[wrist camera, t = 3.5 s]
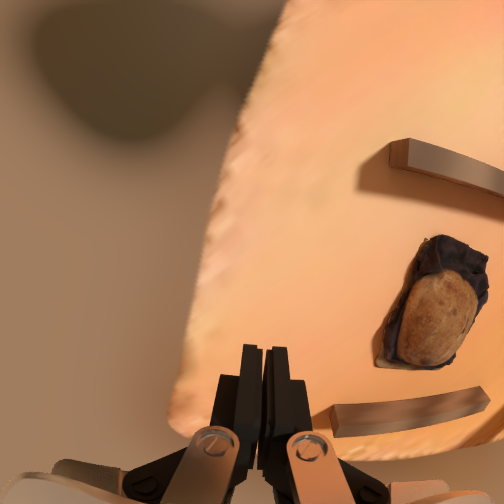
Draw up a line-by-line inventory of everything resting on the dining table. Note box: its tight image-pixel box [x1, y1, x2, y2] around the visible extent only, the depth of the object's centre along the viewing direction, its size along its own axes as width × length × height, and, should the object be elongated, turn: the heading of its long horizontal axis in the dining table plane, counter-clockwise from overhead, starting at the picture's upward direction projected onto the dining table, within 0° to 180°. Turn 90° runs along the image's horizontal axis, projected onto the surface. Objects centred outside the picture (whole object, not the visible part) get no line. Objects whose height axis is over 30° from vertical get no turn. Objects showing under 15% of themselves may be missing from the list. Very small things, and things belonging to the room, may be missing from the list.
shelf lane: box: [330, 138, 504, 438], centre depth 16 cm, size 17×21×2 cm
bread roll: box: [375, 235, 489, 370], centre depth 16 cm, size 11×8×4 cm
